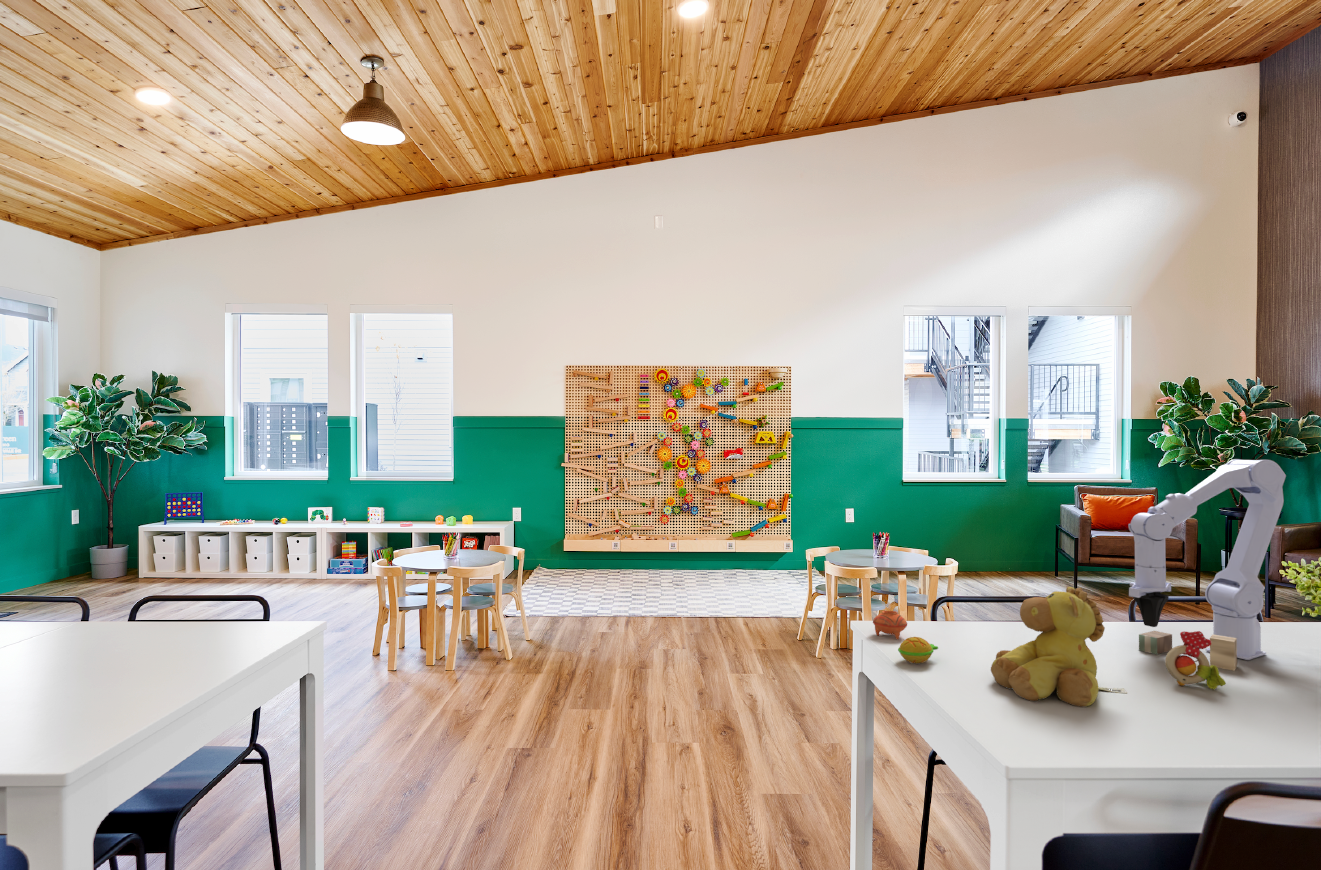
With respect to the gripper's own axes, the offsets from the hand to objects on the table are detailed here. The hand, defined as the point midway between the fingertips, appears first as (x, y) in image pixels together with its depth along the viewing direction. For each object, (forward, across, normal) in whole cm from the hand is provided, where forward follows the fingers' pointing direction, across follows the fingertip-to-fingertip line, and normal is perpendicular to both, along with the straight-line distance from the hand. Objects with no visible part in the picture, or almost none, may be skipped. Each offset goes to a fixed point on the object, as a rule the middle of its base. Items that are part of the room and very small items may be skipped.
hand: (1150, 625), depth 156 cm
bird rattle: (+6, +18, +16) cm, 25 cm away
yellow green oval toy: (+6, +53, -20) cm, 57 cm away
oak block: (+6, -2, +13) cm, 14 cm away
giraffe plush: (+6, +44, +3) cm, 44 cm away
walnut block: (+4, +1, 0) cm, 4 cm away
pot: (+6, +43, -38) cm, 57 cm away
